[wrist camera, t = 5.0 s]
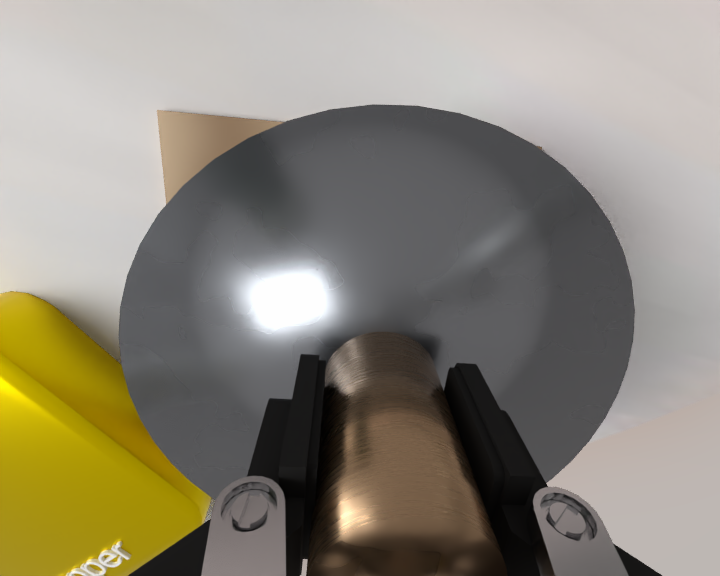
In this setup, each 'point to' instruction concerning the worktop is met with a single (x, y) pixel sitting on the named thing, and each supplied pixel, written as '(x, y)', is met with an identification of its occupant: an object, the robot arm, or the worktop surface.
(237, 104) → the worktop surface
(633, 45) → the worktop surface
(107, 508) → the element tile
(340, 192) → the lid
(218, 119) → the mat
